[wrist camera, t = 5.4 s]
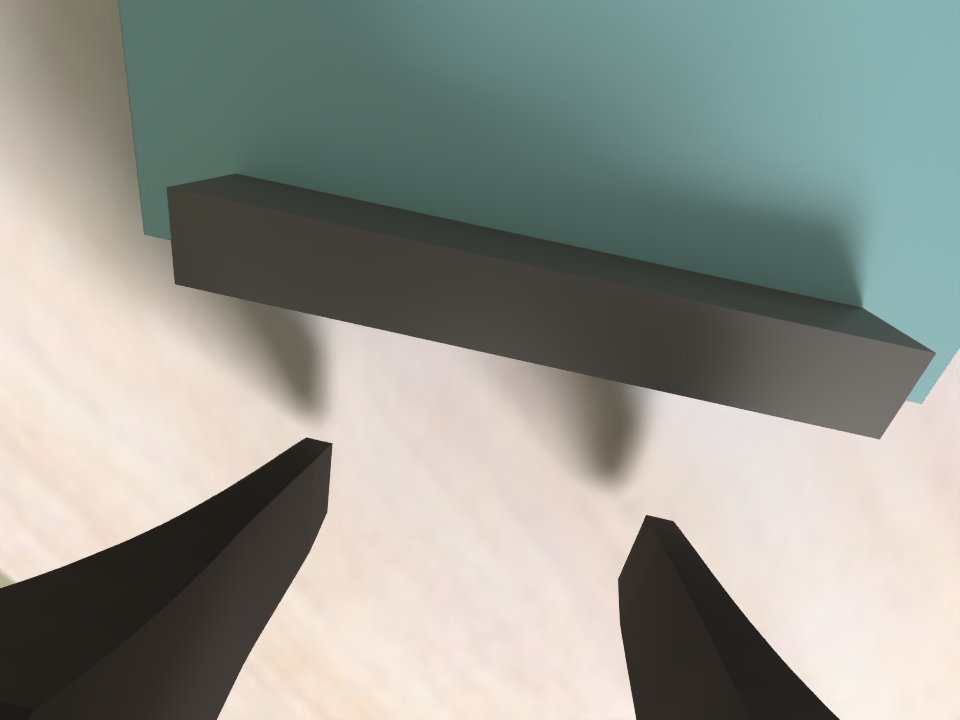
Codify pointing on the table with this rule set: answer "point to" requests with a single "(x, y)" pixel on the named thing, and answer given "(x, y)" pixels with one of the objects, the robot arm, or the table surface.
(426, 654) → the table surface
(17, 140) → the table surface
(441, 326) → the teal hinge plate
